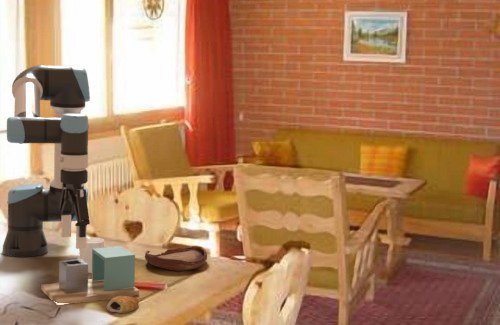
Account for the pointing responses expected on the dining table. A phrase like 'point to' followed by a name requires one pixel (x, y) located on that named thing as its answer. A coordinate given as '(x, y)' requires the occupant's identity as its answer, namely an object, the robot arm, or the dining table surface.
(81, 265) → the block
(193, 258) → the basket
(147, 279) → the dining table surface
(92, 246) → the white cup
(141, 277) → the dining table surface
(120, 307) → the pastry
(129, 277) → the housing cover
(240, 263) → the dining table surface
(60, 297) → the pin board
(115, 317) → the dining table surface
